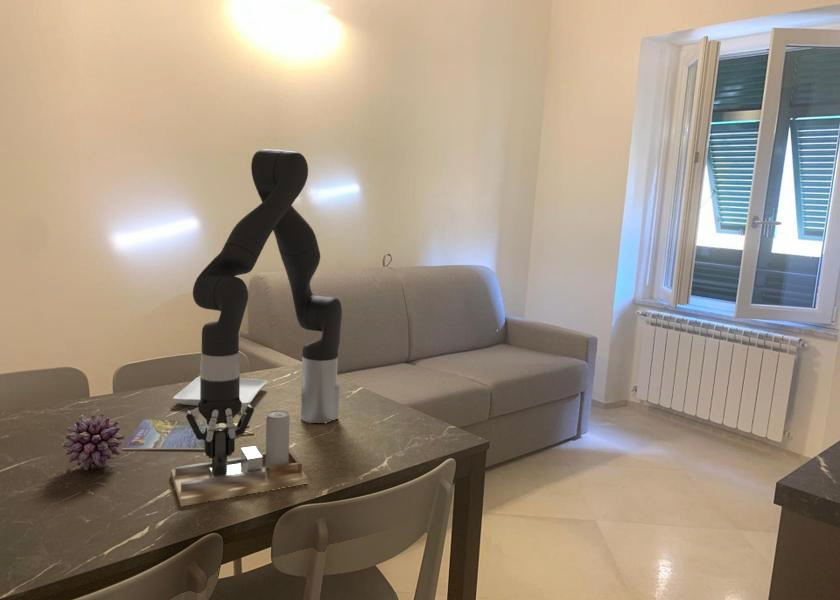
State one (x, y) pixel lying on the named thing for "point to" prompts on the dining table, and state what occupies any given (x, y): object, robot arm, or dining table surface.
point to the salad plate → (246, 393)
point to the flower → (93, 441)
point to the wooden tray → (233, 480)
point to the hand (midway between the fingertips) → (219, 455)
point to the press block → (249, 457)
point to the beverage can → (277, 438)
